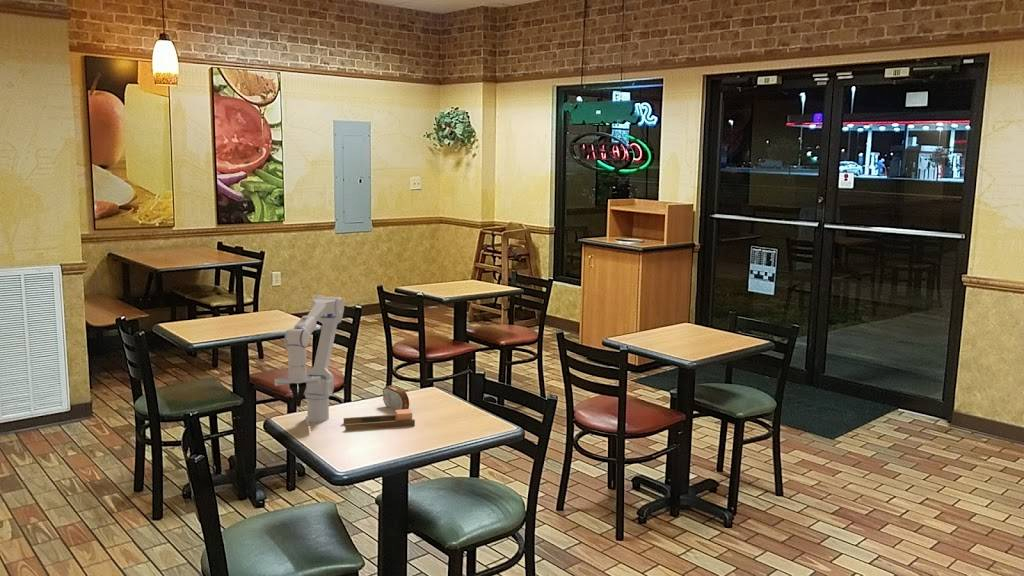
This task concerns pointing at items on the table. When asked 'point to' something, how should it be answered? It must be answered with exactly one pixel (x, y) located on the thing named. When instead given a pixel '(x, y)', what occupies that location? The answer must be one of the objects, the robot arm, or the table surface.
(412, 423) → the chute
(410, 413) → the block
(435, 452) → the table surface
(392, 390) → the tin
